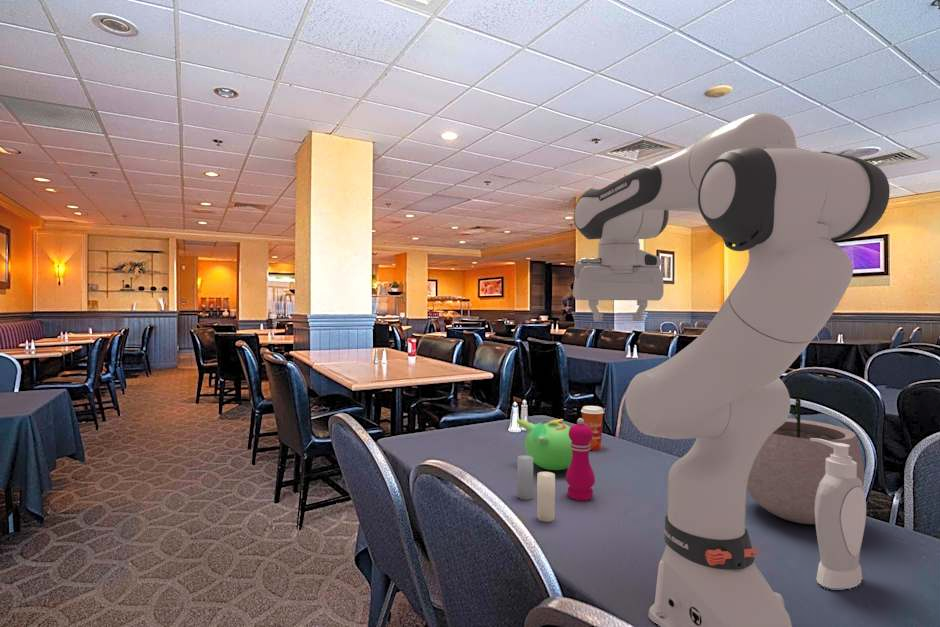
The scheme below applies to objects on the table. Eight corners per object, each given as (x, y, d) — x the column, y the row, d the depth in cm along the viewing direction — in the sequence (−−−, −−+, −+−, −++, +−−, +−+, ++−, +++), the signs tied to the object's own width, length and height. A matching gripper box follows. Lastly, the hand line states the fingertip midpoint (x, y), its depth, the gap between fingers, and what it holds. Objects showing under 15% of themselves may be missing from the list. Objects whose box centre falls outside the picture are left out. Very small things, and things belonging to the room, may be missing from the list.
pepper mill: (573, 502, 122) (574, 422, 121) (560, 492, 129) (561, 415, 128) (600, 499, 124) (600, 420, 123) (585, 489, 131) (586, 414, 130)
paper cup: (579, 450, 166) (580, 409, 166) (581, 444, 173) (581, 404, 173) (603, 452, 164) (604, 410, 163) (604, 446, 171) (604, 406, 171)
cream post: (557, 521, 111) (557, 477, 111) (540, 522, 111) (540, 478, 111) (551, 513, 115) (551, 471, 115) (534, 515, 115) (535, 472, 114)
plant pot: (783, 492, 129) (785, 377, 129) (889, 531, 107) (891, 392, 106) (714, 505, 120) (716, 382, 120) (814, 550, 98) (816, 400, 98)
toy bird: (592, 474, 143) (592, 423, 142) (541, 481, 136) (541, 428, 136) (558, 456, 159) (559, 411, 159) (511, 462, 153) (512, 415, 153)
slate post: (535, 499, 124) (535, 459, 124) (519, 500, 123) (519, 460, 123) (530, 493, 128) (530, 454, 128) (515, 494, 127) (515, 455, 127)
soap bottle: (829, 560, 94) (831, 433, 94) (877, 580, 87) (879, 443, 87) (787, 575, 89) (788, 441, 89) (834, 598, 82) (835, 452, 82)
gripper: (580, 256, 104) (579, 321, 105) (668, 258, 108) (667, 321, 108) (568, 259, 111) (568, 320, 111) (652, 260, 114) (651, 320, 115)
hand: (617, 321), depth 110 cm, fingers open, 8 cm apart
